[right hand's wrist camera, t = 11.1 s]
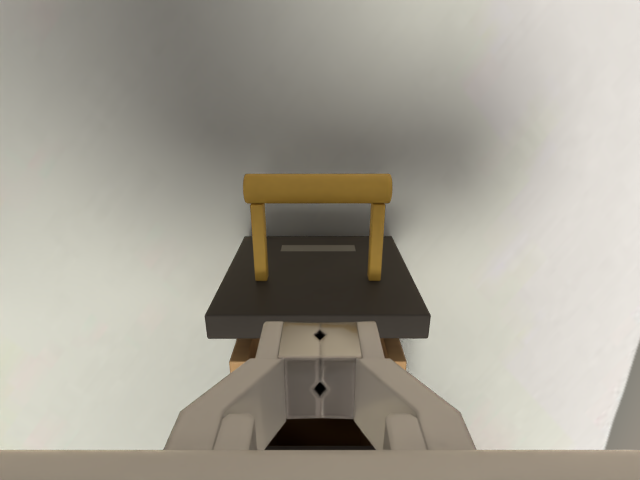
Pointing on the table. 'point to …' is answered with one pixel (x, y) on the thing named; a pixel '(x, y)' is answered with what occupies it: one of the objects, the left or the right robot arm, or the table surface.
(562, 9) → the table surface
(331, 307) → the drawer
